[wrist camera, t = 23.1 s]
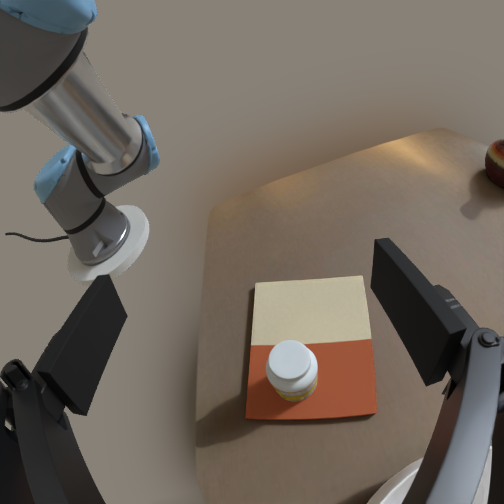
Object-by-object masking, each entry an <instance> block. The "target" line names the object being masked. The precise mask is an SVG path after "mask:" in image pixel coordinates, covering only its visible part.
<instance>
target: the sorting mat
mask: <svg viewBox="0 0 504 504" xmlns="http://www.w3.org/2000/svg"><path fill="white" fill-rule="evenodd" d="M286 340H295V341H298V342H301V343H302V344H304V345H305V346H306V347H307V348H308V349H309V350H311V351H312V353H313V354H314V356H315V358H316V360H317V365H318V370H317V385H316V388H315V390H314V392H313V393H312V394H311V395H310V396H309V397H308V398H306V399H304V400H301V401H288V400H285V399H284V398H282V397H281V396H280V395H279V394H278V393H277V392H276V390H275V389H274V387H273V386H272V384H271V383H270V381H269V379H268V377H267V374H266V364H267V360H268V358H269V354H270V352H271V350H272V349H273V348H274V346H276V345H277V344H278V343H280V342H283V341H286ZM376 413H377V404H376V386H375V372H374V360H373V349H372V340H371V331H370V323H369V316H368V308H367V302H366V295H365V289H364V283H363V277H362V276H352V277H339V278H326V279H312V280H296V281H280V282H263V283H256V284H255V298H254V311H253V324H252V337H251V350H250V363H249V376H248V389H247V401H246V414H245V418H246V419H261V420H309V419H329V418H343V417H354V416H363V415H371V414H376Z"/></svg>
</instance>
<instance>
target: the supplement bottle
mask: <svg viewBox="0 0 504 504" xmlns="http://www.w3.org/2000/svg"><path fill="white" fill-rule="evenodd" d="M317 370H318V365H317V360H316V358H315V356H314V354H313V353H312V351H311V350H309V349H308V348H307V347H306V346H305V345H304V344H302V343H301V342H298V341H295V340H286V341H283V342H280V343H278V344H277V345H276V346H274V348H273V349H272V350H271V352H270V354H269V358H268V360H267V364H266V374H267V377H268V379H269V381H270V383H271V384H272V386H273V387H274V389H275V390H276V392H277V393H278V394H279V395H280V396H281V397H282V398H284V399H285V400H288V401H301V400H304V399H306V398H308V397H309V396H310V395H311V394H312V393H313V392H314V390H315V388H316V385H317Z"/></svg>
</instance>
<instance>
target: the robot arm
mask: <svg viewBox="0 0 504 504" xmlns="http://www.w3.org/2000/svg"><path fill="white" fill-rule="evenodd" d="M96 16H97V9H96V5H95V2H94V0H0V112H4V113H12V112H17V111H19V110H22V109H24V110H25V111H26V112H28V113H29V114H31V115H32V116H33V117H34V118H36V119H37V120H39V121H40V122H41V123H43V124H44V125H45V126H46V127H48V128H49V129H50V130H52V131H53V132H55V133H56V134H57V135H59V136H60V137H61V138H63V139H64V140H65V141H67V142H68V143H69V144H71V145H68V146H66V147H64V148H63V149H61V150H60V151H59V152H57V153H56V154H55V155H54V156H53V157H52V158H51V159H50V160H49V161H48V162H47V163H46V164H45V166H44V167H43V168H42V169H41V171H40V172H39V174H38V175H37V177H36V179H35V181H34V190H35V192H36V194H37V196H38V197H39V199H40V201H41V203H42V204H44V206H45V207H46V208H47V210H48V211H49V212H50V214H51V215H52V216H53V217H54V219H55V220H56V221H57V222H58V223H59V225H60V226H61V227H62V228H63V230H64V231H65V232H66V233H67V236H61V237H57V238H52V239H35V238H30V237H27V236H24V235H22V234H19V233H6V235H17V236H20V237H23V238H25V239H28V240H31V241H35V242H52V241H57V240H62V239H70V242H71V244H72V247H73V249H74V252H75V255H76V257H77V258H78V259H79V260H80V261H81V263H82V264H84V265H86V266H95V265H98V264H101V263H103V262H105V261H106V260H108V259H109V258H111V257H112V256H113V255H114V254H116V253H117V252H118V251H119V249H120V248H121V247H122V246H123V244H124V243H125V241H126V240H127V238H128V236H129V233H130V222H129V220H128V218H127V217H126V215H125V214H124V213H123V212H121V211H120V210H118V209H117V208H116V207H114V206H113V205H112V204H110V203H109V202H108V201H106V199H105V198H104V196H105V195H107V194H109V193H111V192H112V191H114V190H116V189H118V188H120V187H122V186H123V185H125V184H127V183H129V182H131V181H133V180H135V179H136V178H138V177H140V176H142V175H146V174H148V173H149V172H150V171H151V170H153V169H155V168H156V167H157V166H158V165H159V162H160V159H159V154H158V151H157V148H156V145H155V141H154V138H153V136H152V133H151V130H150V128H149V126H148V124H147V122H146V120H145V118H144V117H143V116H142V115H138V116H133V117H131V116H129V115H127V114H123V113H121V112H120V111H119V109H118V108H117V106H116V104H115V103H114V101H113V100H112V98H111V96H110V95H109V93H108V91H107V90H106V88H105V87H104V85H103V83H102V82H101V80H100V78H99V77H98V75H97V74H96V72H95V70H94V69H93V67H92V65H91V64H90V62H89V60H88V58H87V57H86V55H85V53H84V52H83V50H84V47H85V45H86V42H87V38H88V25H89V24H90V23H92V22H93V21H94V20H95V18H96ZM75 148H76V149H75ZM371 289H372V290H373V292H374V294H375V295H376V297H377V299H378V300H379V302H380V304H381V305H382V307H383V309H384V310H385V312H386V314H387V315H388V317H389V319H390V321H391V322H392V324H393V326H394V328H395V329H396V331H397V333H398V335H399V336H400V338H401V340H402V342H403V344H404V345H405V347H406V349H407V351H408V353H409V355H410V356H411V358H412V360H413V362H414V364H415V366H416V368H417V370H418V372H419V374H420V376H421V378H422V379H423V381H424V383H425V385H426V386H429V385H431V384H434V383H437V382H439V381H442V379H443V378H444V376H445V374H446V372H447V371H448V372H449V374H450V376H451V378H450V380H449V382H448V384H447V385H446V387H445V389H444V391H443V392H442V394H445V392H446V394H445V397H444V401H443V404H442V408H441V411H440V414H439V417H438V420H437V423H436V426H435V429H434V432H433V435H432V438H431V440H430V443H429V446H428V448H427V451H426V453H425V456H424V458H423V460H422V463H421V465H420V467H419V470H418V472H417V474H416V476H415V478H414V480H413V482H412V484H411V486H410V488H409V490H408V492H407V494H406V496H405V498H404V500H403V502H402V504H472V503H473V500H474V498H475V495H476V492H477V490H478V487H479V484H480V481H481V477H482V474H483V471H484V467H485V464H486V460H487V457H488V453H489V448H490V444H491V440H492V461H491V475H490V486H489V494H488V501H487V504H504V337H499V335H498V334H497V333H496V332H495V331H493V330H491V329H489V328H479V326H478V325H477V324H476V323H475V321H474V320H473V319H472V318H471V316H470V315H469V314H468V313H467V311H466V310H465V309H464V308H463V307H462V306H461V304H460V303H459V302H458V301H457V300H455V297H454V296H453V295H452V294H451V293H450V291H449V290H447V289H445V288H444V287H442V286H440V285H435V286H433V285H432V284H431V283H430V282H429V281H428V280H427V279H426V277H425V276H424V275H423V274H422V273H421V272H420V271H419V270H418V268H417V267H416V266H415V265H414V264H413V263H412V262H411V261H410V260H409V259H408V258H407V256H406V255H405V254H404V253H403V252H402V251H401V250H400V249H399V248H398V247H397V246H396V245H395V244H394V243H393V242H392V241H391V240H390V239H389V238H382V239H375V242H374V256H373V267H372V278H371ZM126 318H127V314H126V312H125V310H124V307H123V305H122V303H121V301H120V298H119V296H118V294H117V291H116V289H115V287H114V284H113V282H112V280H111V277H110V275H109V274H105V275H97V277H96V278H95V280H94V281H93V282H92V284H91V285H90V287H89V288H88V289H87V291H86V292H85V294H84V295H83V296H82V298H81V299H80V301H79V302H78V304H77V305H76V307H75V308H74V310H73V311H72V313H71V314H70V316H69V317H68V319H67V320H66V322H65V323H64V325H63V326H62V328H61V329H60V330H59V331H58V332H57V333H56V334H55V335H54V336H53V337H52V339H51V340H50V342H49V344H48V346H47V347H46V349H45V350H44V352H43V354H42V355H41V357H40V359H39V361H38V362H37V364H36V366H35V367H34V369H33V371H32V373H30V372H29V371H28V370H27V368H26V367H25V366H24V364H23V363H22V361H20V360H19V359H14V360H12V361H10V362H8V363H7V364H6V365H5V366H4V367H3V369H2V371H1V374H0V377H1V378H2V380H3V381H4V382H5V383H6V384H7V385H8V387H5V386H4V384H3V383H2V382H1V381H0V504H106V503H105V502H104V500H103V498H102V496H101V494H100V493H99V491H98V489H97V487H96V485H95V483H94V481H93V478H92V476H91V474H90V472H89V470H88V468H87V466H86V463H85V461H84V459H83V456H82V454H81V452H80V449H79V447H78V444H77V442H76V439H75V436H74V434H73V431H72V428H71V425H70V422H69V419H68V416H67V415H66V413H65V412H64V411H63V410H64V408H65V406H67V407H68V408H69V410H70V411H71V412H72V413H74V414H79V415H84V416H87V413H88V410H89V407H90V405H91V402H92V399H93V397H94V394H95V391H96V389H97V386H98V384H99V381H100V379H101V376H102V374H103V371H104V369H105V366H106V364H107V361H108V359H109V357H110V354H111V352H112V350H113V347H114V345H115V343H116V340H117V338H118V336H119V334H120V331H121V329H122V327H123V325H124V323H125V321H126ZM5 420H6V421H7V422H8V423H9V424H10V425H11V426H12V427H11V430H9V429H8V428H7V427H6V426H5Z"/></svg>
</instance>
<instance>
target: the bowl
mask: <svg viewBox="0 0 504 504" xmlns="http://www.w3.org/2000/svg"><path fill="white" fill-rule="evenodd" d="M423 458H424V457H423ZM423 458H421V459H419V460H417V461H415V462H413V463H411V464H409V465H408V466H406V467H405V468H403V469H402V470H400V471H399V472H398V473H396V474H395V475H394V476H392V477H391V478H390V479H389V480H388V481H387V482H386V483H384V484H383V485H382V486H381V487H380V488H379V489H378V491H377V492H376V493H375V494H374V495H373V496H372V497H371V498H370V500H369V501H368V503H367V504H402V502H403V500H404V498H405V496H406V494H407V492H408V490H409V488H410V486H411V484H412V482H413V480H414V478H415V476H416V474H417V472H418V470H419V467H420V465H421V463H422V460H423ZM491 461H492V447H491V446H490V448H489V453H488V457H487V460H486V464H485V467H484V471H483V474H482V477H481V481H480V484H479V487H478V490H477V492H476V495H475V498H474V500H473V503H472V504H487V501H488V494H489V486H490V475H491Z"/></svg>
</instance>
